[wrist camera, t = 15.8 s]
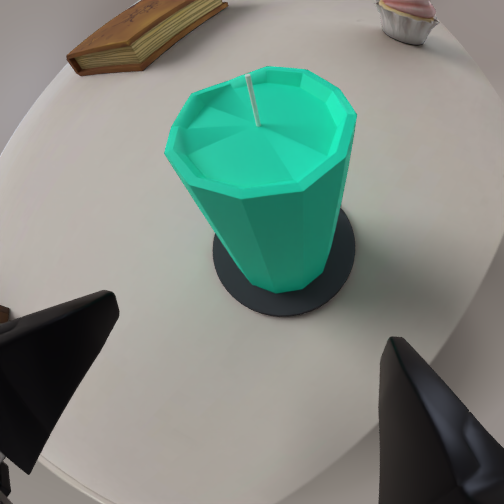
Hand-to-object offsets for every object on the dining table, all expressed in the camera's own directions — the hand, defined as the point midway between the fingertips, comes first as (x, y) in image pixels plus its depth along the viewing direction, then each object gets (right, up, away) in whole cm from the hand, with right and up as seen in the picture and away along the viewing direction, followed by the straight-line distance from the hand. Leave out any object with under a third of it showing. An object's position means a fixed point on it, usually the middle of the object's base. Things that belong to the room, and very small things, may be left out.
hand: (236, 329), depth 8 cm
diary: (-17, +40, +28) cm, 52 cm away
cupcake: (+22, +33, +18) cm, 43 cm away
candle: (+2, +3, +10) cm, 10 cm away
